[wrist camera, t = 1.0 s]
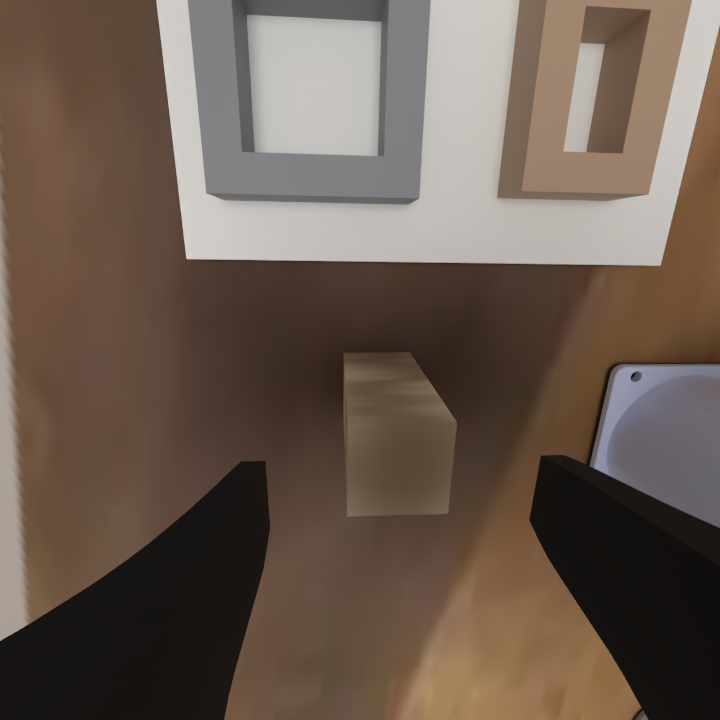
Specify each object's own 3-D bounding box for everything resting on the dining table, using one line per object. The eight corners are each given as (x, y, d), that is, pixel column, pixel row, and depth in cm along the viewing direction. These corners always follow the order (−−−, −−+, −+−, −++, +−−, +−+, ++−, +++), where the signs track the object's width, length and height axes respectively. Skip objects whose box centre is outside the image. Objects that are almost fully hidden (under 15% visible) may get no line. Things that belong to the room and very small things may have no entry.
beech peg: (409, 352, 17) (457, 422, 10) (406, 412, 18) (447, 514, 11) (343, 352, 17) (347, 423, 10) (343, 413, 18) (347, 516, 11)
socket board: (716, -60, 13) (822, -145, 10) (641, 264, 16) (706, 268, 13) (156, -99, 12) (100, -207, 9) (196, 258, 15) (163, 261, 12)
